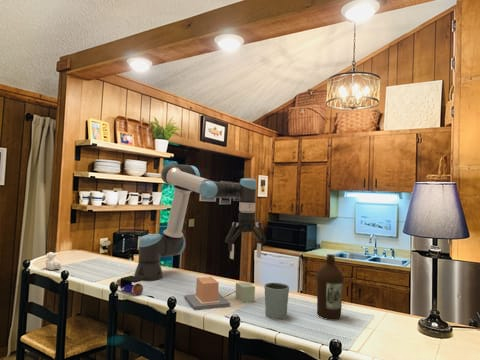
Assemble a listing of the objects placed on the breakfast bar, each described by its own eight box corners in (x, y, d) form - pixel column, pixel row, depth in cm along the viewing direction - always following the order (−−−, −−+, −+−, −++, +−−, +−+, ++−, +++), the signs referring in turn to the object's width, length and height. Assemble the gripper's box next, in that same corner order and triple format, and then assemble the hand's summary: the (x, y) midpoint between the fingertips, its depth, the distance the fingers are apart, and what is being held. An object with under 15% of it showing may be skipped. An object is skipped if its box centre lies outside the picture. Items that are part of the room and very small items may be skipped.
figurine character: (115, 293, 164) (134, 297, 154) (115, 277, 164) (134, 279, 155) (127, 290, 169) (146, 293, 160) (127, 274, 170) (146, 276, 161)
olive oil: (311, 311, 145) (313, 252, 146) (334, 310, 148) (336, 252, 148) (322, 321, 135) (325, 257, 136) (347, 320, 137) (349, 257, 138)
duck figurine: (45, 271, 201) (34, 258, 196) (56, 262, 207) (45, 248, 201) (58, 275, 195) (47, 261, 190) (68, 265, 201) (57, 251, 195)
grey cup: (271, 321, 132) (273, 290, 133) (258, 312, 141) (259, 283, 142) (293, 318, 137) (294, 287, 138) (279, 309, 146) (280, 281, 146)
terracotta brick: (195, 295, 155) (196, 277, 155) (210, 294, 158) (211, 276, 158) (202, 302, 146) (203, 283, 146) (217, 301, 149) (218, 282, 149)
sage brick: (235, 297, 160) (235, 282, 161) (246, 296, 163) (247, 281, 163) (242, 303, 153) (242, 287, 153) (254, 301, 155) (254, 286, 156)
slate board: (184, 298, 156) (184, 294, 156) (217, 295, 162) (217, 291, 162) (193, 310, 141) (194, 306, 141) (230, 306, 148) (230, 302, 148)
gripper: (224, 212, 151) (222, 260, 150) (274, 212, 160) (273, 258, 159) (219, 210, 158) (217, 257, 157) (267, 211, 167) (265, 255, 166)
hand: (245, 258), depth 158 cm, fingers open, 13 cm apart
